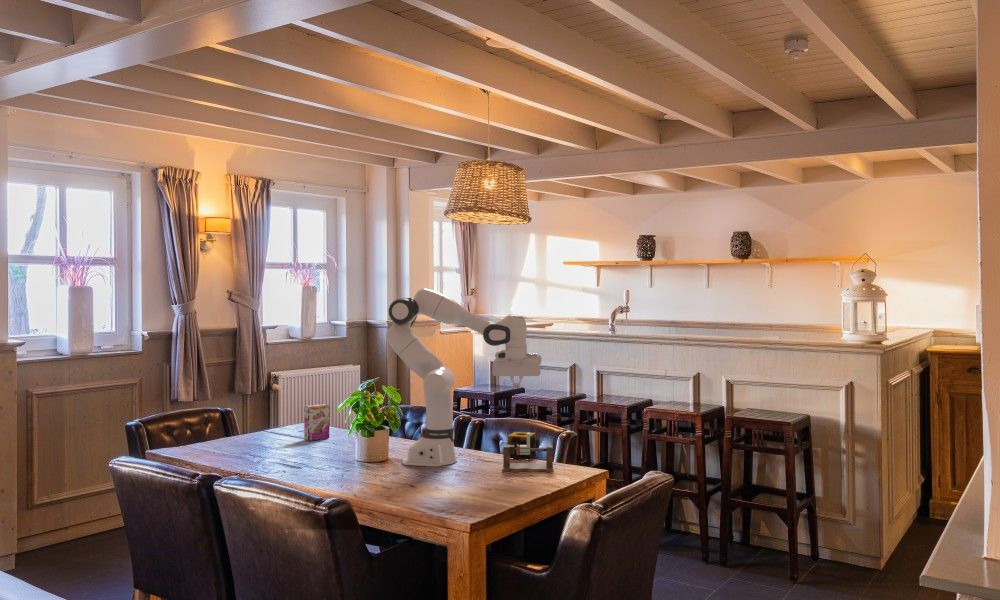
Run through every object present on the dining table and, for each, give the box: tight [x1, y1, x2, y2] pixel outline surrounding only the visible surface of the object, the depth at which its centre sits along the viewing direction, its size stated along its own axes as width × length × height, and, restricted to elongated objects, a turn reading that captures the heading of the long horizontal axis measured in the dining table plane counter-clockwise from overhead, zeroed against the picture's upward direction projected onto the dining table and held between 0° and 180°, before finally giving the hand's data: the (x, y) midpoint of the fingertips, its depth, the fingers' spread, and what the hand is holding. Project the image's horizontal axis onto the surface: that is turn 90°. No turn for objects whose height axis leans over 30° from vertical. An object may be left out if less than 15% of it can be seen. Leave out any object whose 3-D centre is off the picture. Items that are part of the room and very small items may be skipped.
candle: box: [507, 431, 537, 461], centre depth 340 cm, size 10×10×10 cm
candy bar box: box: [303, 403, 330, 442], centre depth 381 cm, size 11×5×16 cm, turn 130°
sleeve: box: [520, 432, 531, 455], centre depth 317 cm, size 4×3×8 cm
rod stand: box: [502, 444, 555, 474], centre depth 317 cm, size 20×10×10 cm, turn 87°
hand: (516, 386), depth 332 cm, fingers closed
